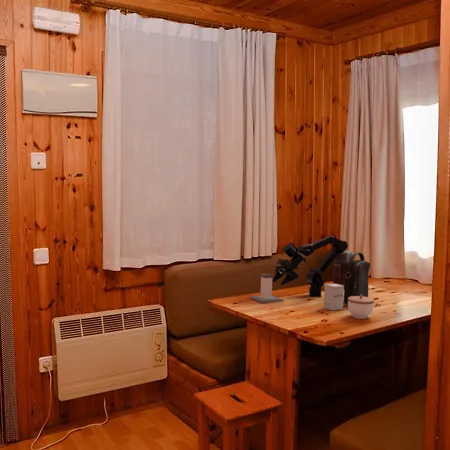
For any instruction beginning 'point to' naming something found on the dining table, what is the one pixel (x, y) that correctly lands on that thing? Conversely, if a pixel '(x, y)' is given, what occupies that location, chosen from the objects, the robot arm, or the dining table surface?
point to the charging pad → (268, 300)
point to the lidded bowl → (360, 306)
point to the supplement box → (333, 296)
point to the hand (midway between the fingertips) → (276, 283)
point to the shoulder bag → (356, 277)
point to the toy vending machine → (340, 267)
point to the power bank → (266, 286)
